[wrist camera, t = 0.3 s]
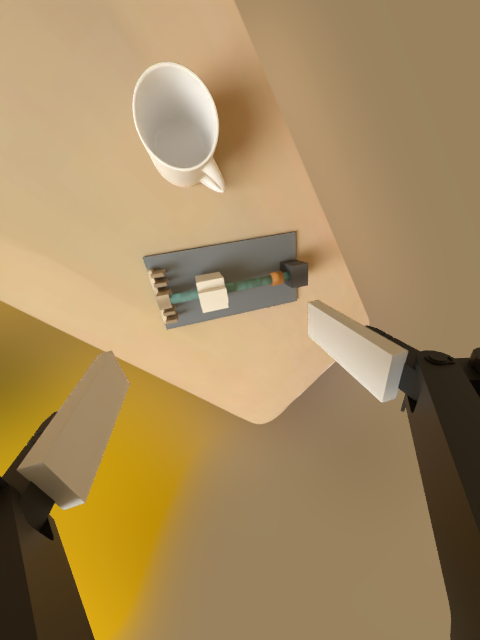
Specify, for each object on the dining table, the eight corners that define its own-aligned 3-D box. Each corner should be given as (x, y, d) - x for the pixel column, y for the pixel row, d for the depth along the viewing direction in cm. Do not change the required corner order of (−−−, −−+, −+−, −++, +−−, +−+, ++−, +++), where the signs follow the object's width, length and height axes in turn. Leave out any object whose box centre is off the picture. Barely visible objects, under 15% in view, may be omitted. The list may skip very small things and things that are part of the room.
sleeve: (195, 276, 36) (196, 285, 30) (219, 271, 37) (224, 279, 31) (201, 303, 38) (203, 316, 32) (223, 298, 39) (230, 310, 33)
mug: (202, 217, 34) (207, 213, 25) (138, 152, 29) (113, 114, 20) (236, 176, 33) (255, 155, 24) (176, 100, 28) (169, 33, 18)
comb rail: (149, 268, 36) (142, 275, 30) (292, 243, 40) (308, 245, 34) (166, 318, 40) (162, 332, 35) (293, 291, 44) (307, 300, 39)
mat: (143, 257, 35) (142, 257, 34) (294, 231, 39) (295, 231, 38) (167, 328, 41) (167, 329, 40) (295, 300, 45) (296, 300, 44)
